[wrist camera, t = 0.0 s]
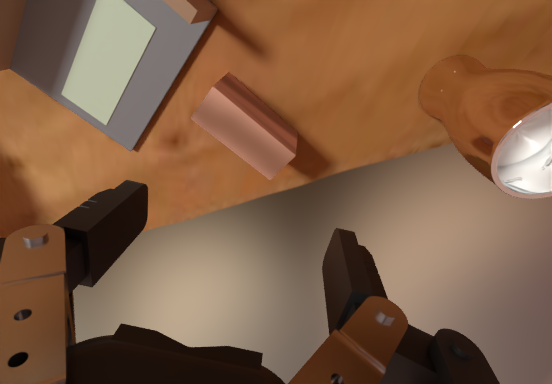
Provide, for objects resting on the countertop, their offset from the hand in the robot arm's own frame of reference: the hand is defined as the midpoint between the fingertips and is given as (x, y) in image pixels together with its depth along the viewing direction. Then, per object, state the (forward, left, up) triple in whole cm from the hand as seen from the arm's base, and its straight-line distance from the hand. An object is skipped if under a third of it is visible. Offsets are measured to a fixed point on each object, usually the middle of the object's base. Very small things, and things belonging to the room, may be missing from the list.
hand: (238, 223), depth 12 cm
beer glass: (-12, +13, -23) cm, 28 cm away
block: (+5, 0, -23) cm, 23 cm away
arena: (+8, -17, -22) cm, 30 cm away
